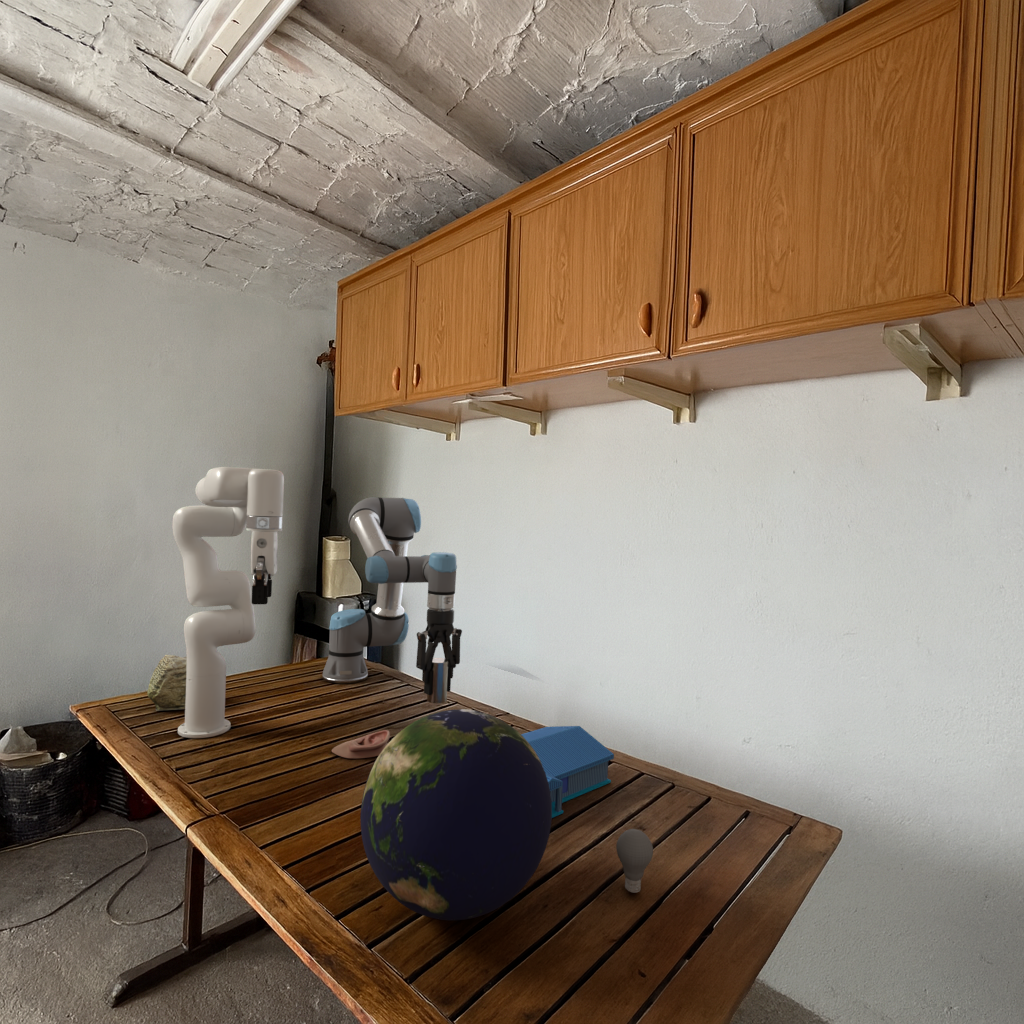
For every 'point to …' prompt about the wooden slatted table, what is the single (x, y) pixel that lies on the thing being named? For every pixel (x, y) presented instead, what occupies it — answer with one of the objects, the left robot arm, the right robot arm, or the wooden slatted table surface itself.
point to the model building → (570, 762)
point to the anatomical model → (363, 746)
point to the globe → (456, 814)
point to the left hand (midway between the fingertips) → (261, 600)
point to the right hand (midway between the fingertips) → (437, 691)
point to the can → (439, 681)
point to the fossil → (169, 683)
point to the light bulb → (634, 857)
